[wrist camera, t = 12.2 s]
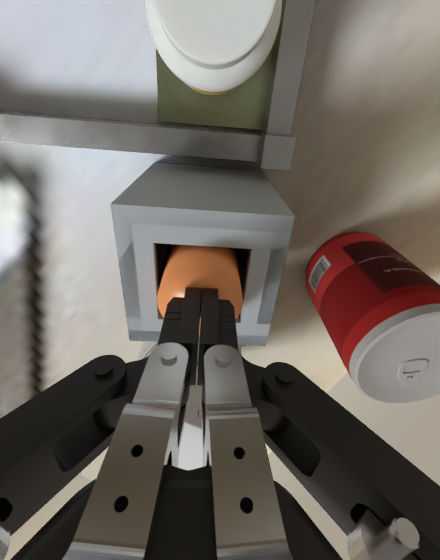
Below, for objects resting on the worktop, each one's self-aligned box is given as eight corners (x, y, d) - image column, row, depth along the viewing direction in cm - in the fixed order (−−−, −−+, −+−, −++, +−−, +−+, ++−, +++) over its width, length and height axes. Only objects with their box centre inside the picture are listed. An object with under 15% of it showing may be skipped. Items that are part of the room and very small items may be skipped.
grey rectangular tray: (-53, 133, 19) (-111, 139, 15) (-178, -176, 12) (-326, -283, 9) (277, 159, 20) (290, 170, 17) (323, -108, 14) (359, -179, 10)
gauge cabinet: (159, 259, 24) (129, 340, 16) (154, 162, 20) (110, 204, 12) (250, 264, 25) (269, 346, 16) (264, 171, 21) (299, 216, 12)
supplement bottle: (151, 53, 17) (91, 3, 8) (202, -52, 14) (186, -258, 6) (222, 115, 18) (229, 123, 10) (277, 30, 16) (341, -46, 8)
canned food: (314, 313, 28) (364, 416, 19) (292, 250, 24) (341, 340, 15) (392, 287, 26) (488, 384, 17) (381, 214, 23) (499, 290, 13)
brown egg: (174, 268, 19) (158, 332, 14) (173, 213, 17) (154, 263, 12) (231, 271, 19) (237, 336, 14) (237, 217, 17) (247, 268, 12)
